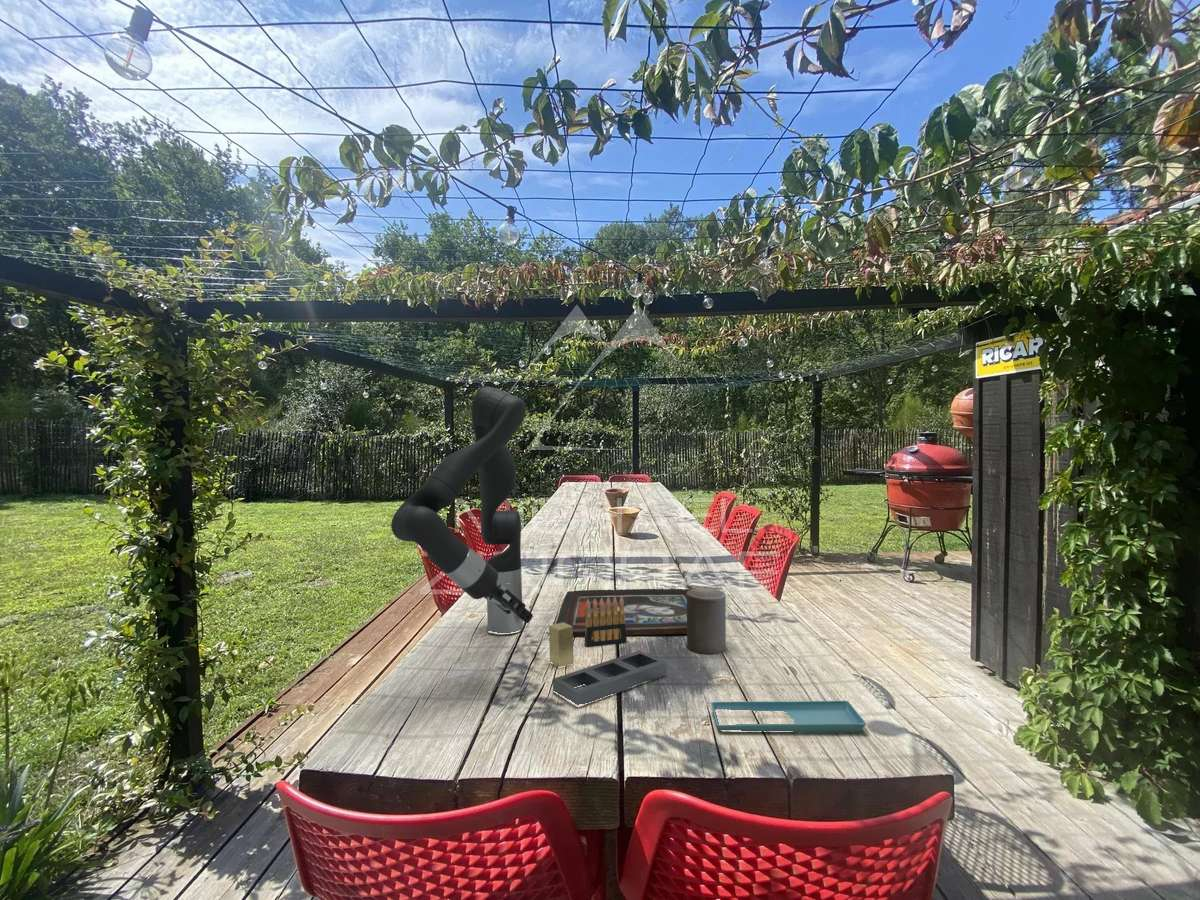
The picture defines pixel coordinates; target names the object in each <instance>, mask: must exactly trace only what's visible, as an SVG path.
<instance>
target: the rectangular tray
mask: <svg viewBox="0 0 1200 900" xmlns="http://www.w3.org/2000/svg"><path fill="white" fill-rule="evenodd" d="M710 705H711V709H712V712H713V715H714V719H715V724H716V726H717V728H718V730H719V731H720V730H741V731H793V732H805V733H804V734H848V733H849V734H854V733H855V734H859V733H861V731H862V730H863V729H864V728H865V726H866V725H867V722H866V720H864V719H863V717H862V716H861V714H859V713H858V711H857V710H856V708H854V706H853V704H852V703H851V702H850V701H849V700H807V701H806V700H798V701H797V700H796V701H793V700H792V701H789V700H788V701H787V700H786V701H779V700H778V701H776V700H775V701H768V700H767V701H764V700H763V701H761V700H760V701H757V700H756V701H746V700H745V701H712V702H710ZM716 709H724V710H725V709H727V710H729V709H730V710H752V711H771V712H772V711H784V712H787V713H785V714H787V715H789V716H790V717H791V719H792V718H793V719H794V721H793V722H795V723H794V724H736V725H719V722H718V719H717V715H716V712H715V710H716ZM793 719H792V720H793Z"/></svg>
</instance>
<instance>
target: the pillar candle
mask: <svg viewBox="0 0 1200 900" xmlns="http://www.w3.org/2000/svg"><path fill="white" fill-rule="evenodd" d="M690 589H691V590H689V591H688V592H687V634H686V649H688V650H689V651H691V652H692V653H696V654H701V655H717V654H721V653H723V652H725V651H726V649H725V648H727V646H726V645H727V643H726V636H727V635H726V634H727V633H726V632H727V630H726V629H727V626H726V625H727V622H726V621H727V619H726V609H727V608H726V597H727V593H725V592H724V591H722V590H719V589H715V588H707V587H701V588H699V587H698V588H696V589H694V588H690Z"/></svg>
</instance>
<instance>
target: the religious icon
mask: <svg viewBox="0 0 1200 900" xmlns="http://www.w3.org/2000/svg"><path fill="white" fill-rule="evenodd" d="M691 589H692V588H631V589H630V588H627V589H625V588H624V589H581V590H571V591H570V590H569V591H567V592H566V594H565V595H564V598H563V600H562V603H561V605H560V609H559V612H558V616H557V619H556V621H555V624H558V623H562V622H564V623H566V624H568V625H571V626H573V638H579V637H583V638H585V614H586V602H587V599H589V602H590V609H591V616H592V613H593V601H594V599H596V602H597V610H598V620H599V609H600V600H601V598H602V599H603V602H604V612H605V623H606V602H607V598H608V597H609V599H610V604H611V613H612V611H613V599H614V597H616V600H617V608H618V618H619V602H620V597H621V596H622V598H623V602H624V611H625V624H626V636H651V635H652V636H656V635H687V592H688V591H689V590H691ZM693 589H697V588H696V587H694V588H693Z"/></svg>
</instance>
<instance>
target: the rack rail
mask: <svg viewBox="0 0 1200 900" xmlns="http://www.w3.org/2000/svg"><path fill="white" fill-rule="evenodd" d="M639 666H640V667H639ZM641 666H642V667H641ZM636 667H637V668H636ZM613 675H614V676H613ZM665 675H666V676H667V661H664V660H662V659H660V658H658V657H655V656H652V655H650V654H648V653H647V652H646V653H645V652H643V651H641V650H637V651H634V652H631V653H627V654H625V655H621V656H618V657H616V658H613V659H609V660H606V661H603V662H600V663H597V664H594V665H590V666H588V667H584V668H582V669H579V670H575V671H572V672H569V673H567V674H562V675H560V676H557V677H554V678H552V692H553V691H555V692H557V693H558V694H560V695H562V696H564V697H565V698H567V699H569V700H571V701H572V702H574V703H575V704H577V705H579V704H585V703H589V702H592V701H595V700H597V699H600V698H603V697H605V696H608V695H611V694H615V693H618V694H620V693H619V692H621V691H623V690H625V689H628V688H629V687H632V686H634V685H636V684H639V683H642V682H645V681H649V680H653V679H656V680H658V679H661V678H663V677H662V676H664V677H666V676H665ZM607 677H608V678H607ZM660 677H661V678H660ZM657 678H658V679H657ZM653 681H654V680H653ZM583 684H585V685H586V686H583V687H580V688H577V689H576V688H574V687H577V686H580V685H583ZM623 692H624V691H623ZM621 693H622V692H621ZM615 695H616V694H615Z"/></svg>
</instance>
